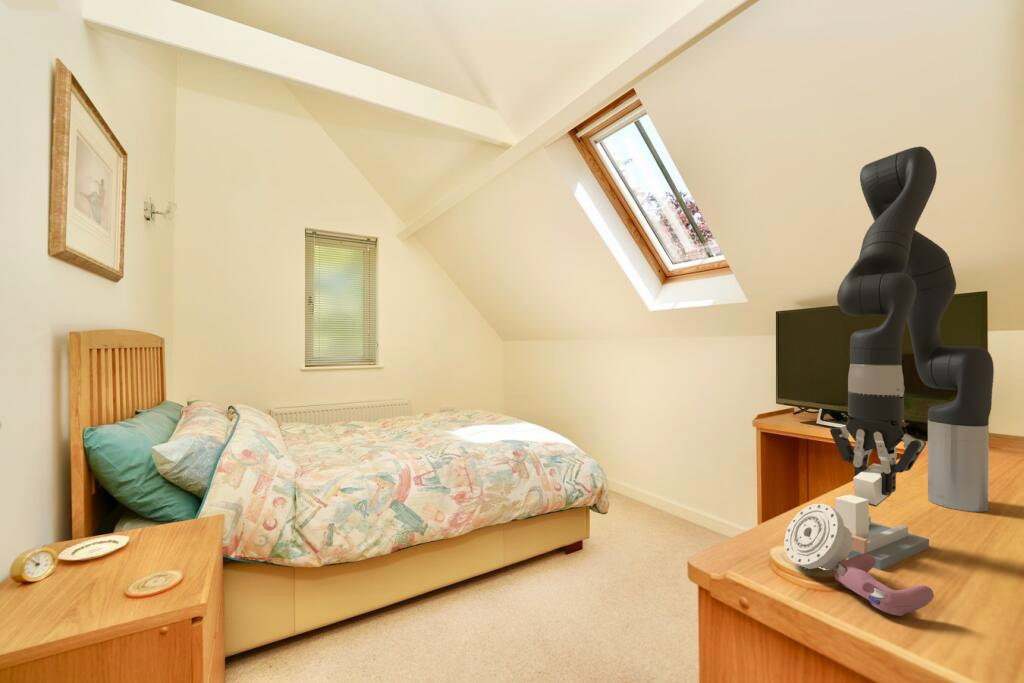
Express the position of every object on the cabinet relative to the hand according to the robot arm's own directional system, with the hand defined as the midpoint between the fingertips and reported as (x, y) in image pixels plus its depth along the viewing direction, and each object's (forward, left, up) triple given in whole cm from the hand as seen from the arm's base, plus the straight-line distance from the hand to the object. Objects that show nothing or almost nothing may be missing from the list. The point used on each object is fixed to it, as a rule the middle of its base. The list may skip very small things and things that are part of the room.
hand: (874, 491), depth 80 cm
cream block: (-3, 0, +2) cm, 4 cm away
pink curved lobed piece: (+18, +11, -7) cm, 22 cm away
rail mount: (+3, 0, -9) cm, 9 cm away
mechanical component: (+20, -2, -8) cm, 22 cm away
